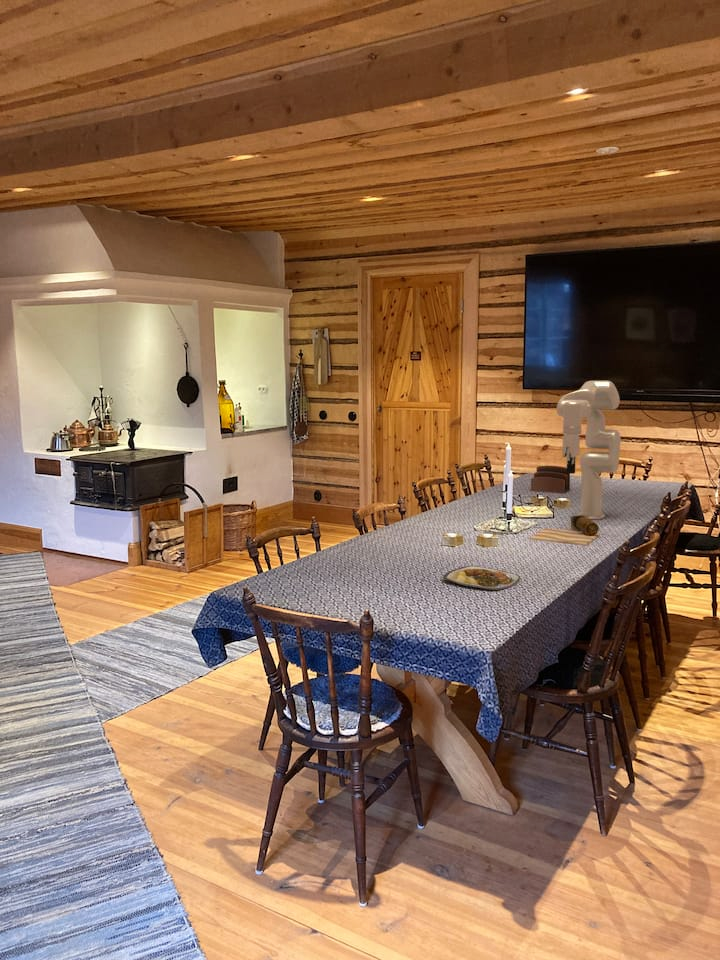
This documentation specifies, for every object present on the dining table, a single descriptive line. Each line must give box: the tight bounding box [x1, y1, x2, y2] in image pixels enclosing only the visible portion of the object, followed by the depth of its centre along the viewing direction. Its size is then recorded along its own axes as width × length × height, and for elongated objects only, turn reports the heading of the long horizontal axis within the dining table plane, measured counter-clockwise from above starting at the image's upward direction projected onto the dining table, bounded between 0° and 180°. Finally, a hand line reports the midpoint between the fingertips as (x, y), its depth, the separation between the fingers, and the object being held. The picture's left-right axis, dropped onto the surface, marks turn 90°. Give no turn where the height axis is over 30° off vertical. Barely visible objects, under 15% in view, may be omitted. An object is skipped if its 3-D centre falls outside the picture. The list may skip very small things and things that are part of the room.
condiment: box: [570, 515, 600, 535], centre depth 335 cm, size 7×8×12 cm
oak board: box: [529, 527, 601, 547], centre depth 331 cm, size 20×24×1 cm
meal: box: [442, 565, 521, 591], centre depth 273 cm, size 25×25×3 cm
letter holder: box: [530, 465, 571, 494], centre depth 441 cm, size 10×20×14 cm, turn 57°
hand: (570, 473), depth 332 cm, fingers closed
